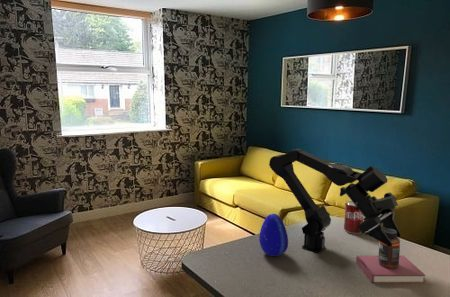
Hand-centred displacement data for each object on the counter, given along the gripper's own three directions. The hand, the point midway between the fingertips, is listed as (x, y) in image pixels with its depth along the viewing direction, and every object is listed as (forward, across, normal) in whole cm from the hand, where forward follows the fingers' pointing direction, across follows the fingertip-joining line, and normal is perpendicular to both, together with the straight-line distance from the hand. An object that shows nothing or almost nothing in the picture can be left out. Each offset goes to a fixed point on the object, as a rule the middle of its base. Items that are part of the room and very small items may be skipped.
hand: (395, 240), depth 104 cm
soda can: (-8, +25, +24) cm, 36 cm away
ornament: (-17, -14, +33) cm, 40 cm away
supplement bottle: (+5, 0, +7) cm, 9 cm away
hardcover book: (+7, 0, +9) cm, 12 cm away
